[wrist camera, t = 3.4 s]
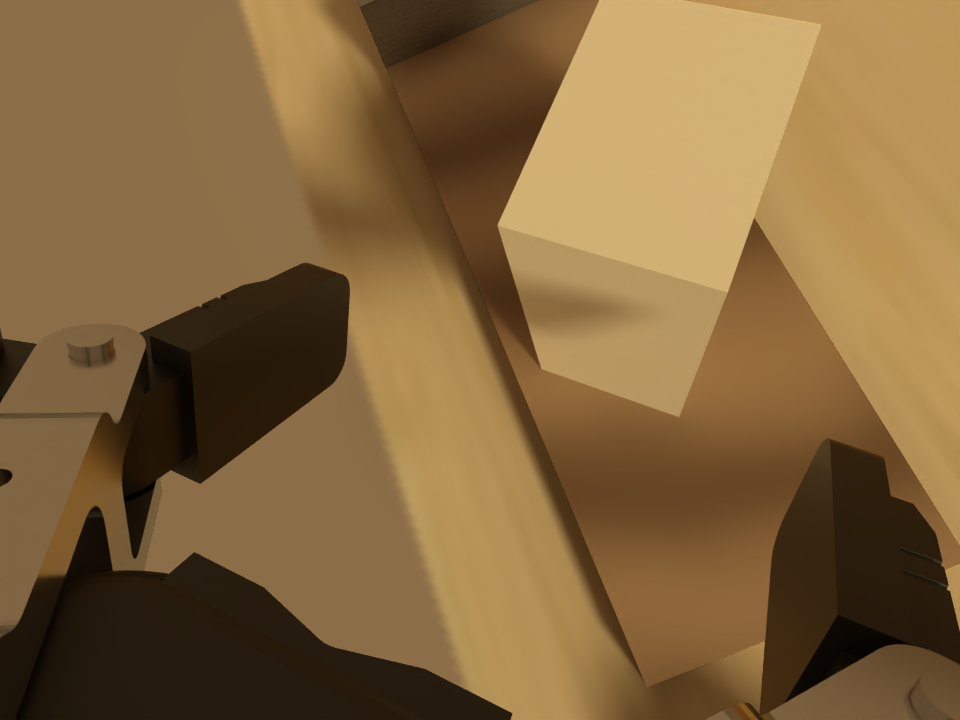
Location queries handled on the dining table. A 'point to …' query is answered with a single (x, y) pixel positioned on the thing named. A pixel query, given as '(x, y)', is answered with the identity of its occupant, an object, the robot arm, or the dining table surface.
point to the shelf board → (630, 425)
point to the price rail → (427, 22)
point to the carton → (649, 189)
